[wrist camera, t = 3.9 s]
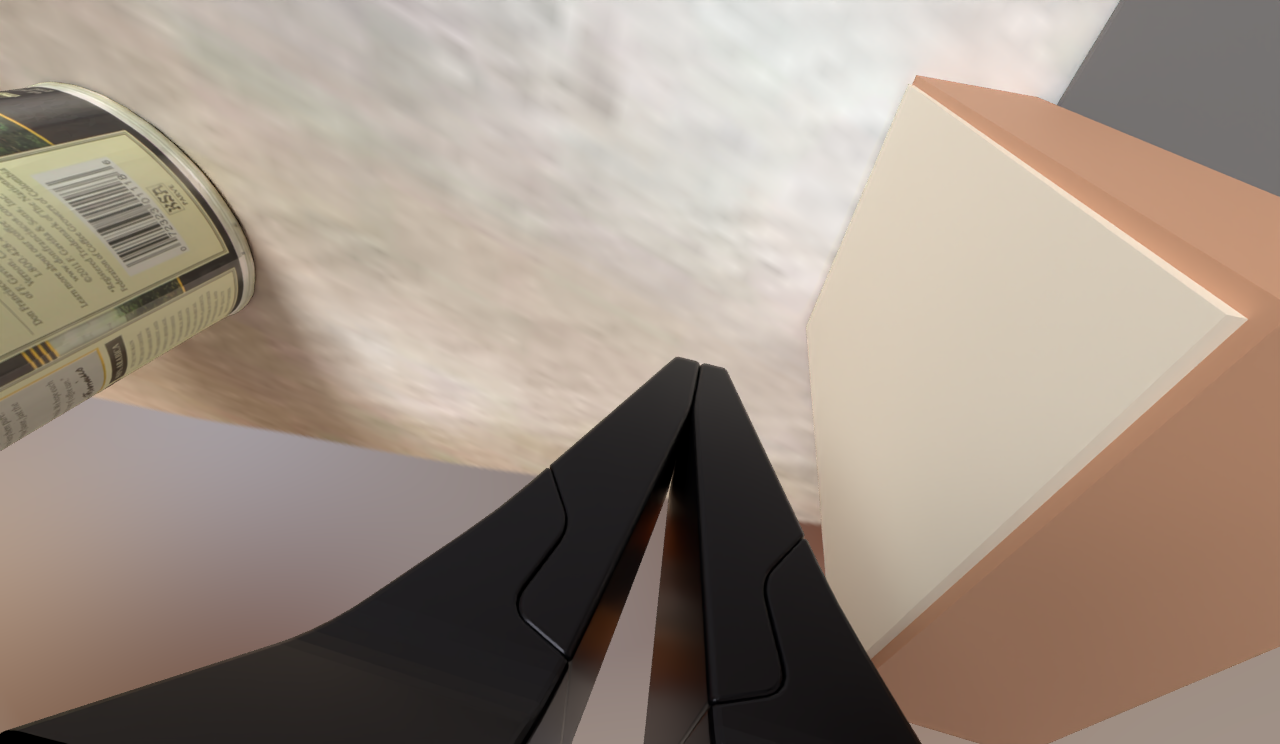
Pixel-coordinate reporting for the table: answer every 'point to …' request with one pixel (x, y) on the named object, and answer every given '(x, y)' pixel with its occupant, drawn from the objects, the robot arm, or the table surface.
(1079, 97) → the placemat
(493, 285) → the table surface
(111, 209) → the coffee can
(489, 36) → the table surface
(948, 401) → the beige rectangular block
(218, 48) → the table surface
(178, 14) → the table surface
